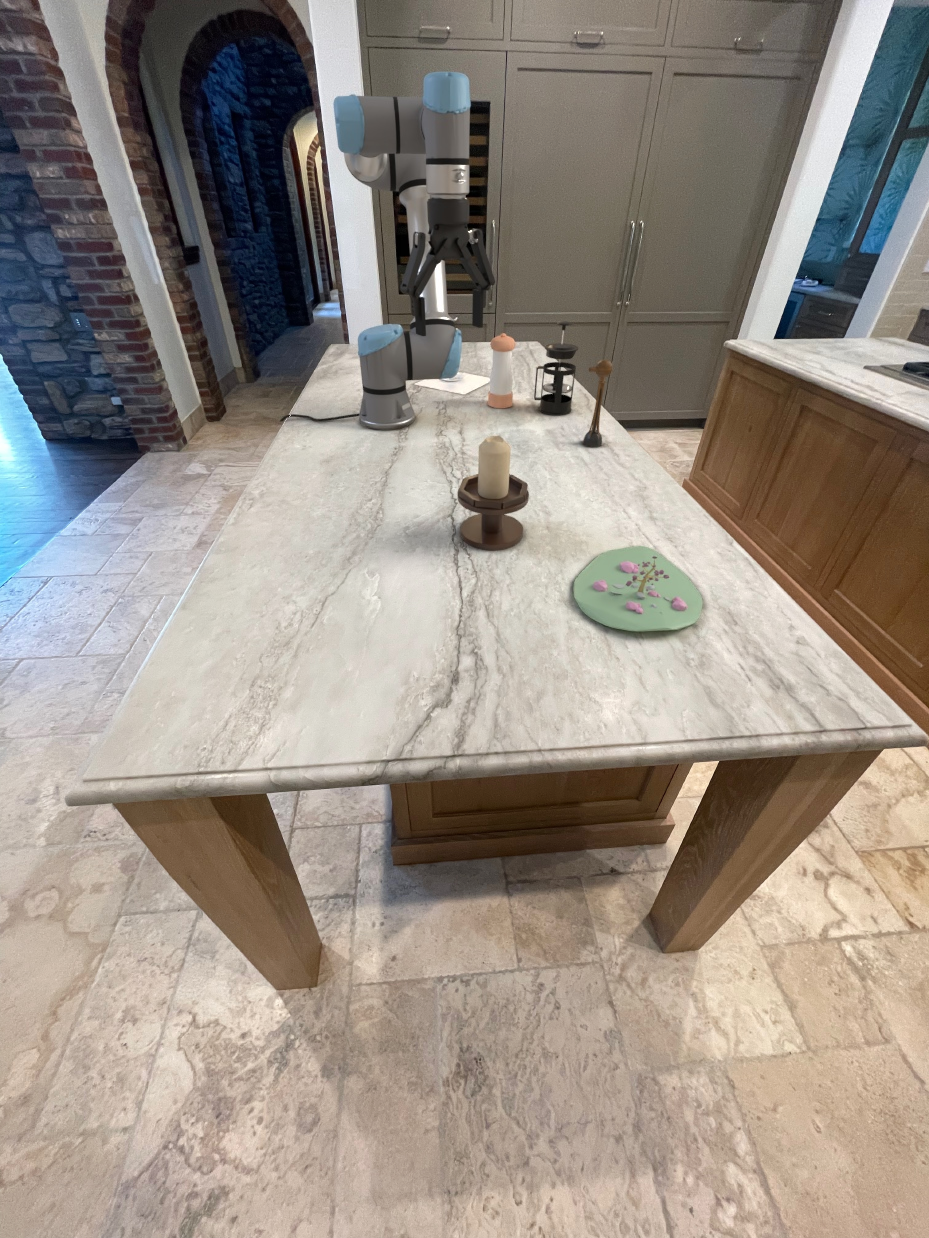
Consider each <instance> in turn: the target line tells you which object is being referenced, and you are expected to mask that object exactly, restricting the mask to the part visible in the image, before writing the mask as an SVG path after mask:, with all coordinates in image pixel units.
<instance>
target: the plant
mask: <svg viewBox="0 0 929 1238" xmlns="http://www.w3.org/2000/svg"><path fill="white" fill-rule="evenodd" d="M572 587H573V588H572V589H573V598H574V600H575V602H576V603H577V605H578V607H579V608H580V610H581V611H582V612H583V613H584V615H586V616H587V617H588V618H590V619H591V620H593V621H595V622H596V623H599V624H601V625H604V626H606V627H609V628H612V629H618V630H621V631H622V630H624V631H629V632H659V631H678V630H681V629H684V628H687V627H690V626H692V625H694V624H696V622H698V620H699V618H700V616H701V614H702V613H701V612H702V609H703V605H704V604H703V597H702V595H701V594H700V592H699V590H698V588H696V586H695V584H694V583H693V582H692V581H691V580H690V577H688V576H687V574H685V573H684V572H683V571H682V570H681V569H680V568H679V567H677V566H676V565H674V564H673V563H672V562H671V561H670V560H668V559H667V558H666V557H664V556H663V555H662V554H660V553H659V552H658V551H656V550H655V549H653V548H650V547H648V546H645V545H644V546H643V545H635V546H628V547H621V548H616V549H611V550H607V551H605V552H602V553H600V554H599V555H597V556H596V557H595V558H594V559H593V560H592V561H590V563H589V564H588V565H586V567H584V568H583V570H582V571H580V573H579V574H578V575H577V576H576V577H575V580H574V582H573V586H572Z"/></svg>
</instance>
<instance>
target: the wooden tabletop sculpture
mask: <svg viewBox="0 0 929 1238" xmlns="http://www.w3.org/2000/svg"><path fill="white" fill-rule="evenodd" d="M613 367H614V366H613V364H612V362H611V360H609V359H601V360H600V361H598V362H597V364H596V366H589V367H588V372H589V373H595V374H596V375H597V377H599V378H600V380H599V381H598V387H597V392H596V400H595V404H594V412H593V416H592V419H591V423H590V427H589V430H588V431H587V432H586V433H585V435H584V437H583V440H582V445H584V446H585V447H588V448H599V447H602V444H603V436H602V434H601V432H600V421H601V420H600V419H601V411H602V410H601V409H602V403H603V398H604V397H603V396H604V390H605V384H606V381H605V378H607V377H609V376H610V375H611V373H612V371H613Z"/></svg>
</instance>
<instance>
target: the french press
mask: <svg viewBox="0 0 929 1238" xmlns="http://www.w3.org/2000/svg"><path fill="white" fill-rule="evenodd" d="M556 325H558V326H561V331H562V335H561V342H560V343H559V342H558V343H557V342H556V343H555V342H554V343H549V344H546V345H545V346H544V348H545V350H546V352H545V353H546V354H545V355H546V357H547V358H549V359H552V360H559V361H552V362H551V361H550V362H547V363H544V364H543V365H537V366H536V368H535V381H534V393H533V399H534V401H540V403H539V407H538V411H539V412H541V413H542V414H545V415H548V416H565V415H568V414H570V413H572V402H573V393H574V387H575V386H574V385H575V378H576V369H577V366H576V365H575V364H573V363H570V362H564V361H562V360H571V359H573V358H574V356H575V355H576V353H577V351H578V350H579V346H577V345H575V344H571V343H564V337H565V331H566V327H567V326H571V325H573V323H572V322H571V321H568V320H563V321H562V320H561V321H557V322H556ZM551 368H554V369H551ZM562 368H565V369H568V370H562ZM539 370H542V379H541V391H540V396H539V397H538V396H537V387H538V386H537V384H538V373H539ZM545 374H547V375H550V376H553V382H548V383H545V384H544V382H545V381H544V380H545ZM572 375H573V376H572ZM565 376H566V377H567V376H572V384H571V385H570V384H567V383H564V377H565ZM544 391H545V392H547V393H545V394H543V392H544ZM568 393H570V395H567V394H568Z"/></svg>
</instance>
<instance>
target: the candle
mask: <svg viewBox="0 0 929 1238" xmlns="http://www.w3.org/2000/svg"><path fill="white" fill-rule="evenodd" d="M511 452H512V446H511V445H510V444H509V442H507V441H506V440H505V439H504V438H503V437H502V436H500V435H491V436H489V437H485V438H484V440H483V441H482V442H481V443H480V444H479V445H478V461H477V462H478V464H477V465H478V469H477V474H478V493H479V495H480V496H482V497H484V498H487V499H500V498H503V497H505V496H506V495H507V494H508V488H509V474H510V469H511Z"/></svg>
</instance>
